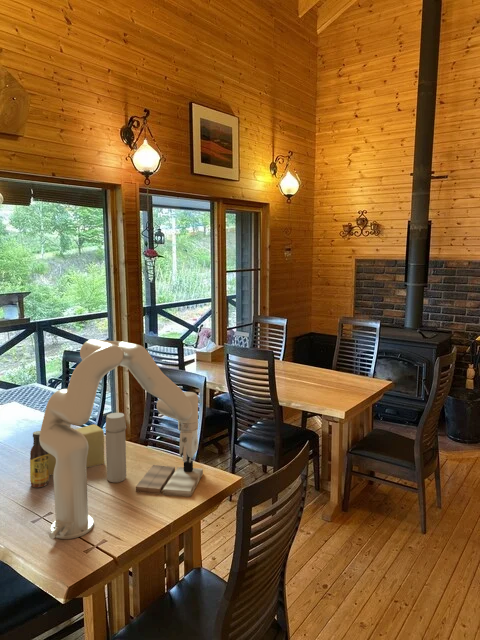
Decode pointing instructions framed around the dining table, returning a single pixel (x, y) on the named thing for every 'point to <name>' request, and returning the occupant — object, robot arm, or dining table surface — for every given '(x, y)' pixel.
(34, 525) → the dining table surface
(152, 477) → the laid board
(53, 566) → the dining table surface
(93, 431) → the cheese
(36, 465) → the sauce bottle
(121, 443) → the water bottle
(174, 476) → the board
